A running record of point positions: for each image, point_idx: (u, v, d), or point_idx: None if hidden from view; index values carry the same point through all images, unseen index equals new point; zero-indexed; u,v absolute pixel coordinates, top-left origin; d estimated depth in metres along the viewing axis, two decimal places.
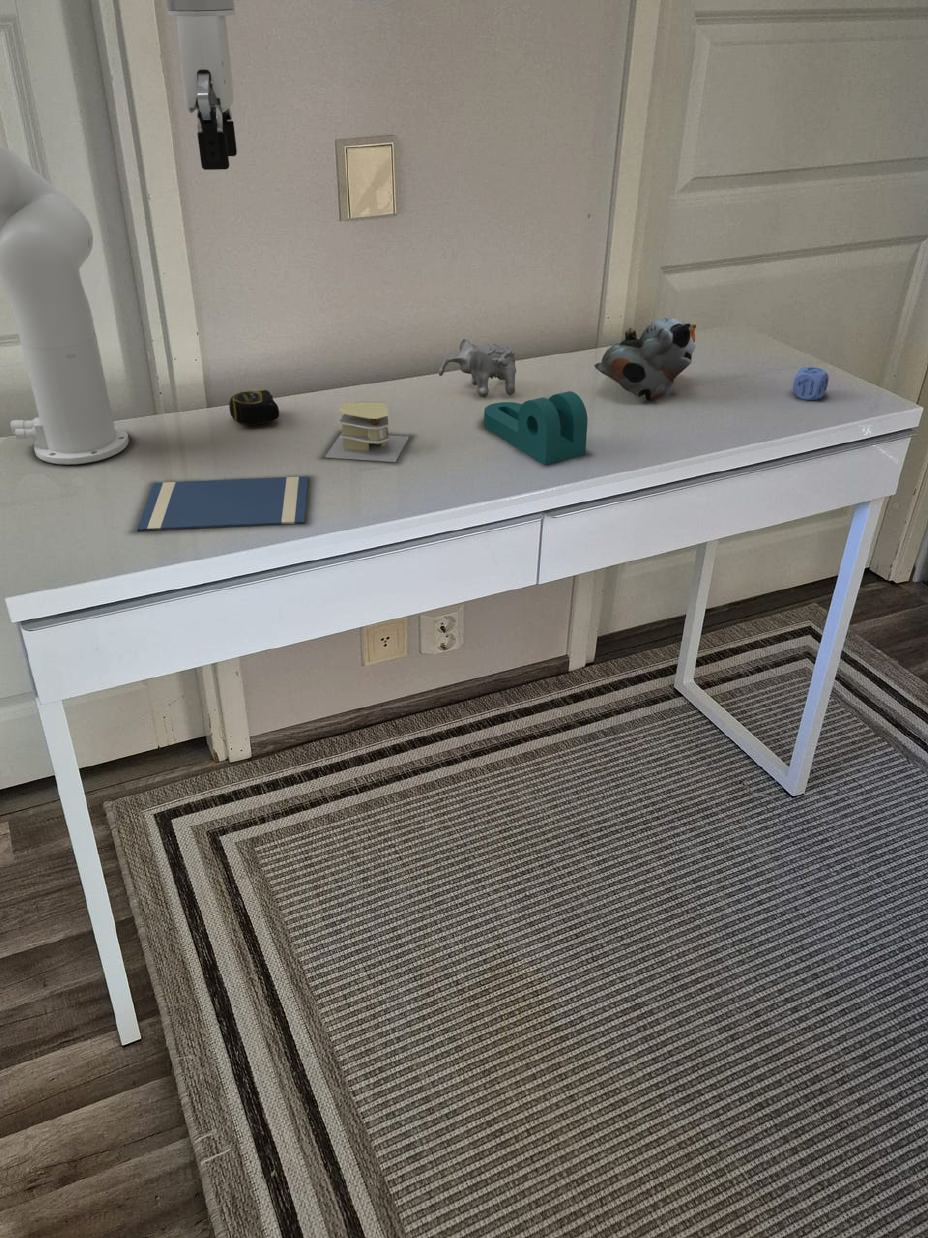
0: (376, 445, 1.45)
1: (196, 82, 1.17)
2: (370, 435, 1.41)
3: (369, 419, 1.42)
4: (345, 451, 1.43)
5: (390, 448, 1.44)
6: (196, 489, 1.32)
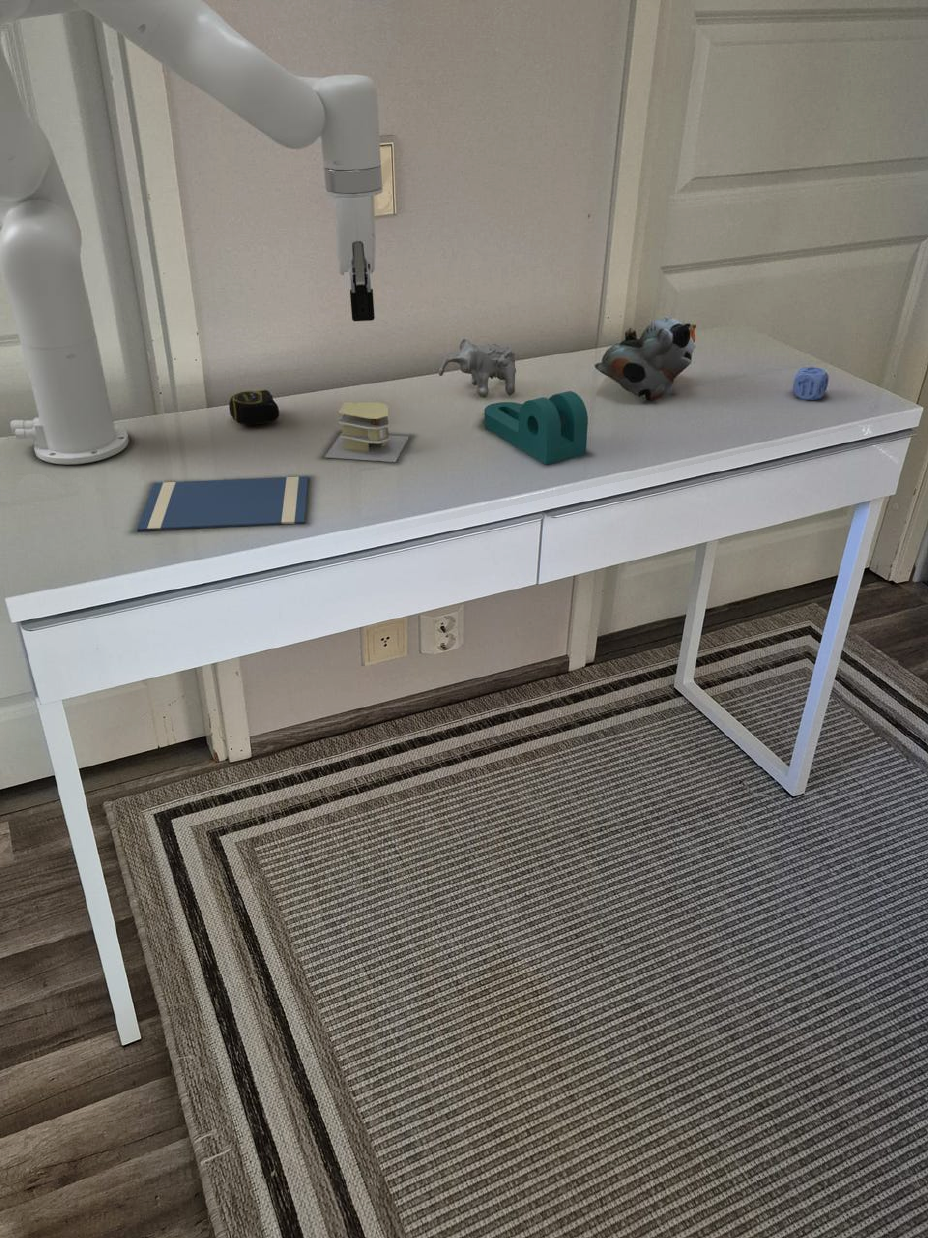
0: (376, 445, 1.45)
1: (351, 251, 1.36)
2: (370, 435, 1.41)
3: (369, 419, 1.42)
4: (345, 450, 1.43)
5: (390, 448, 1.44)
6: (196, 489, 1.32)
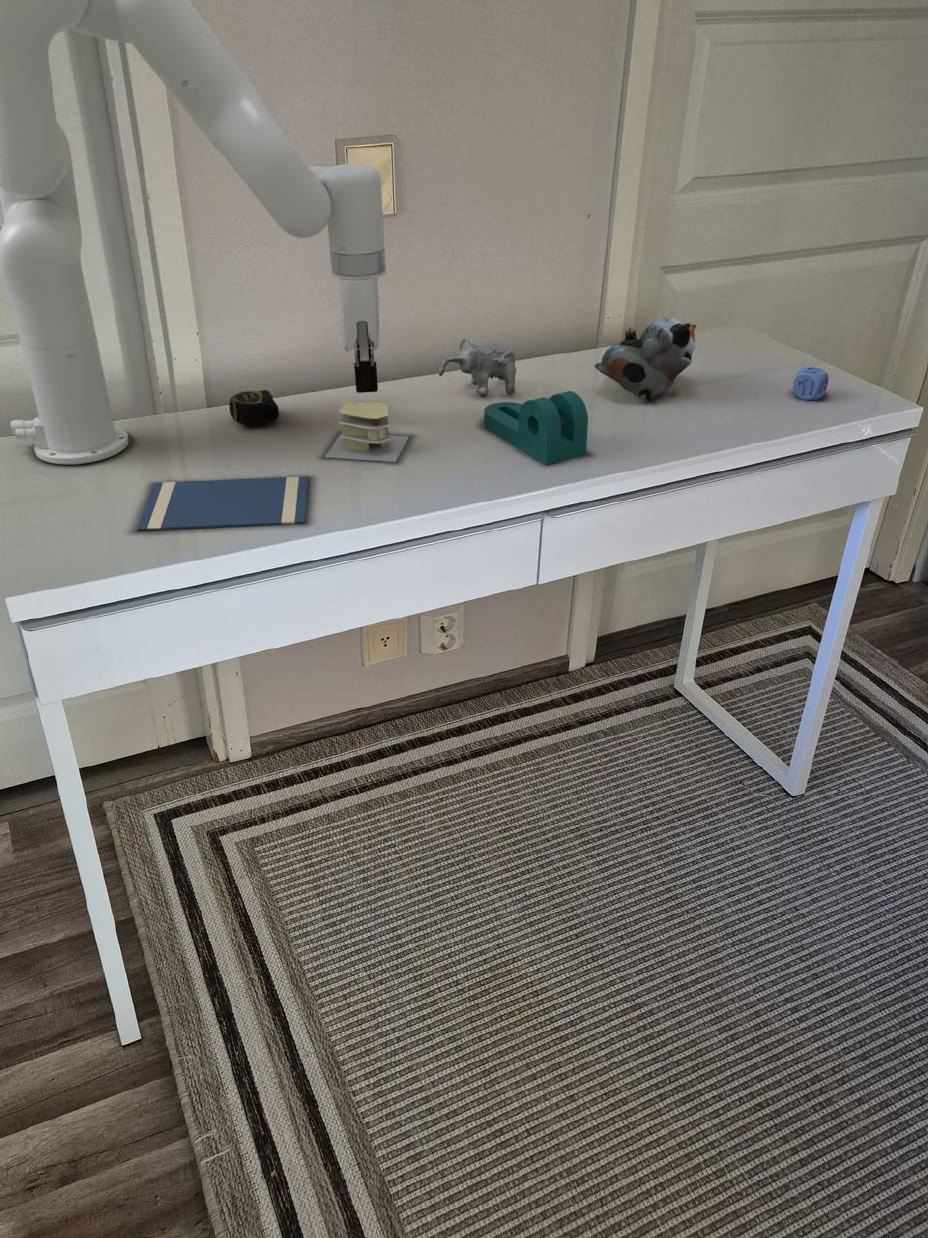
0: (376, 445, 1.45)
1: (355, 330, 1.41)
2: (370, 435, 1.41)
3: (369, 419, 1.42)
4: (345, 451, 1.43)
5: (390, 448, 1.44)
6: (196, 489, 1.32)
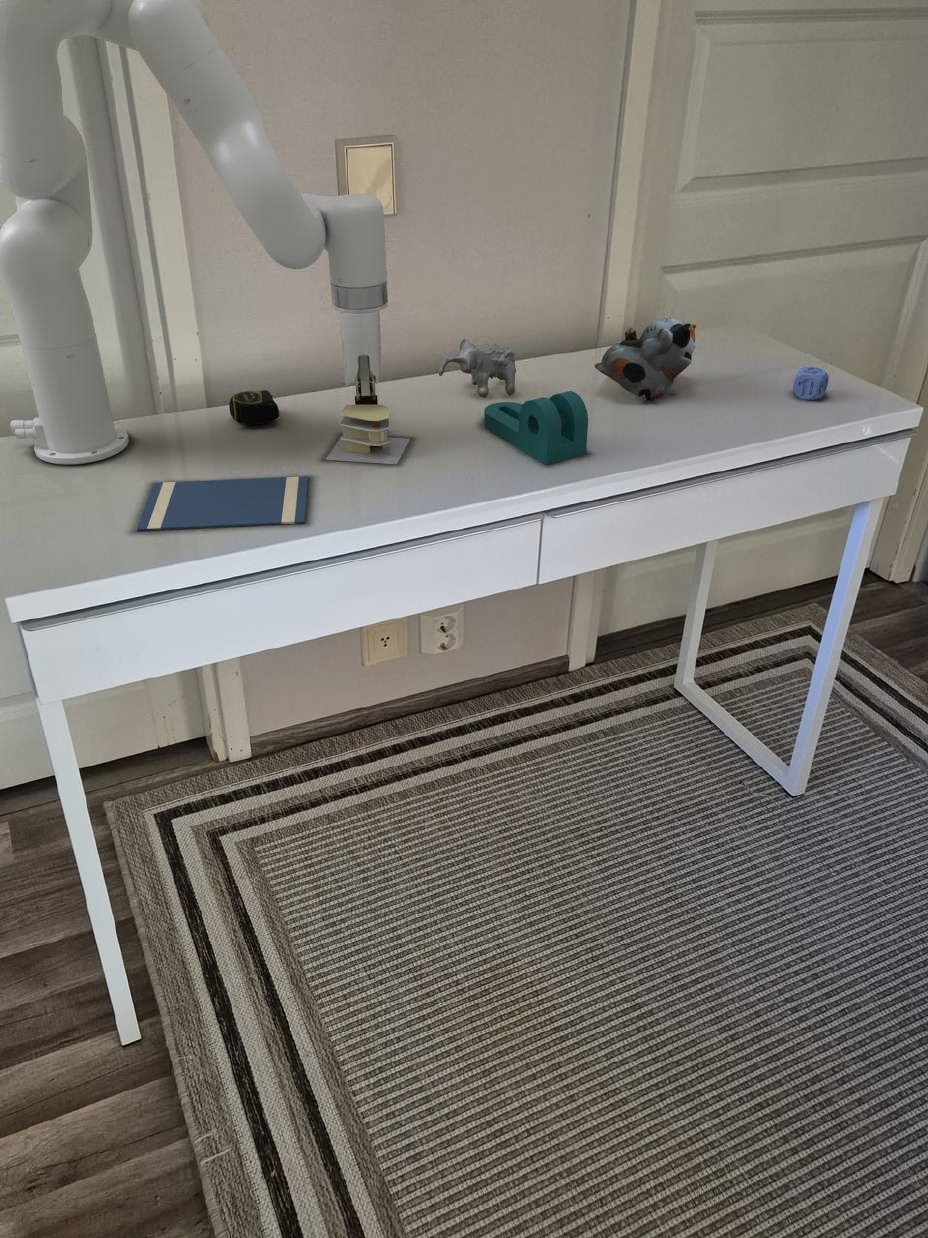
0: (377, 448, 1.44)
1: (357, 365, 1.37)
2: (371, 437, 1.40)
3: (370, 421, 1.41)
4: (346, 453, 1.43)
5: (392, 451, 1.43)
6: (196, 489, 1.32)
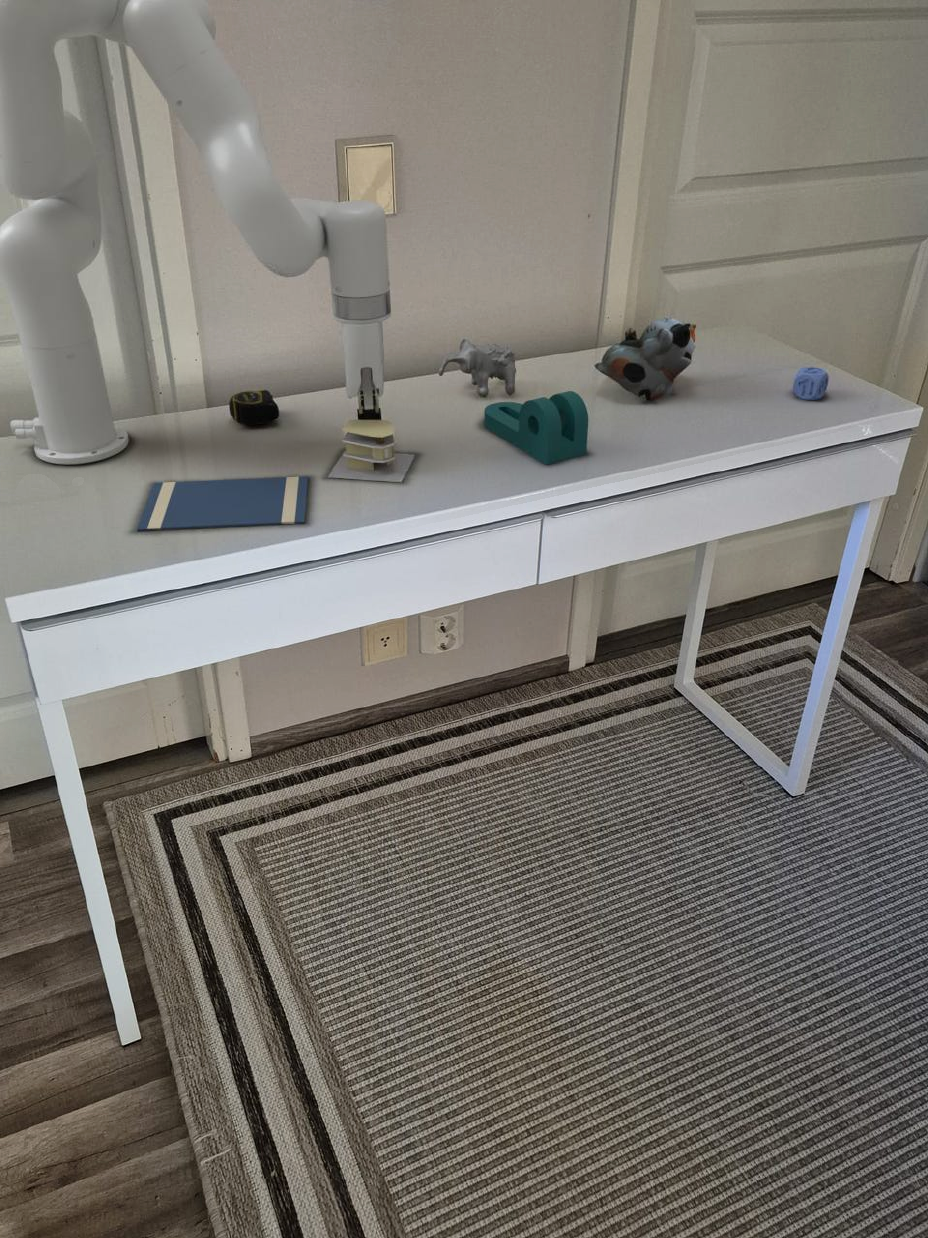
0: (380, 464, 1.39)
1: (359, 377, 1.32)
2: (375, 454, 1.35)
3: (374, 437, 1.36)
4: (349, 470, 1.38)
5: (396, 468, 1.38)
6: (196, 489, 1.32)
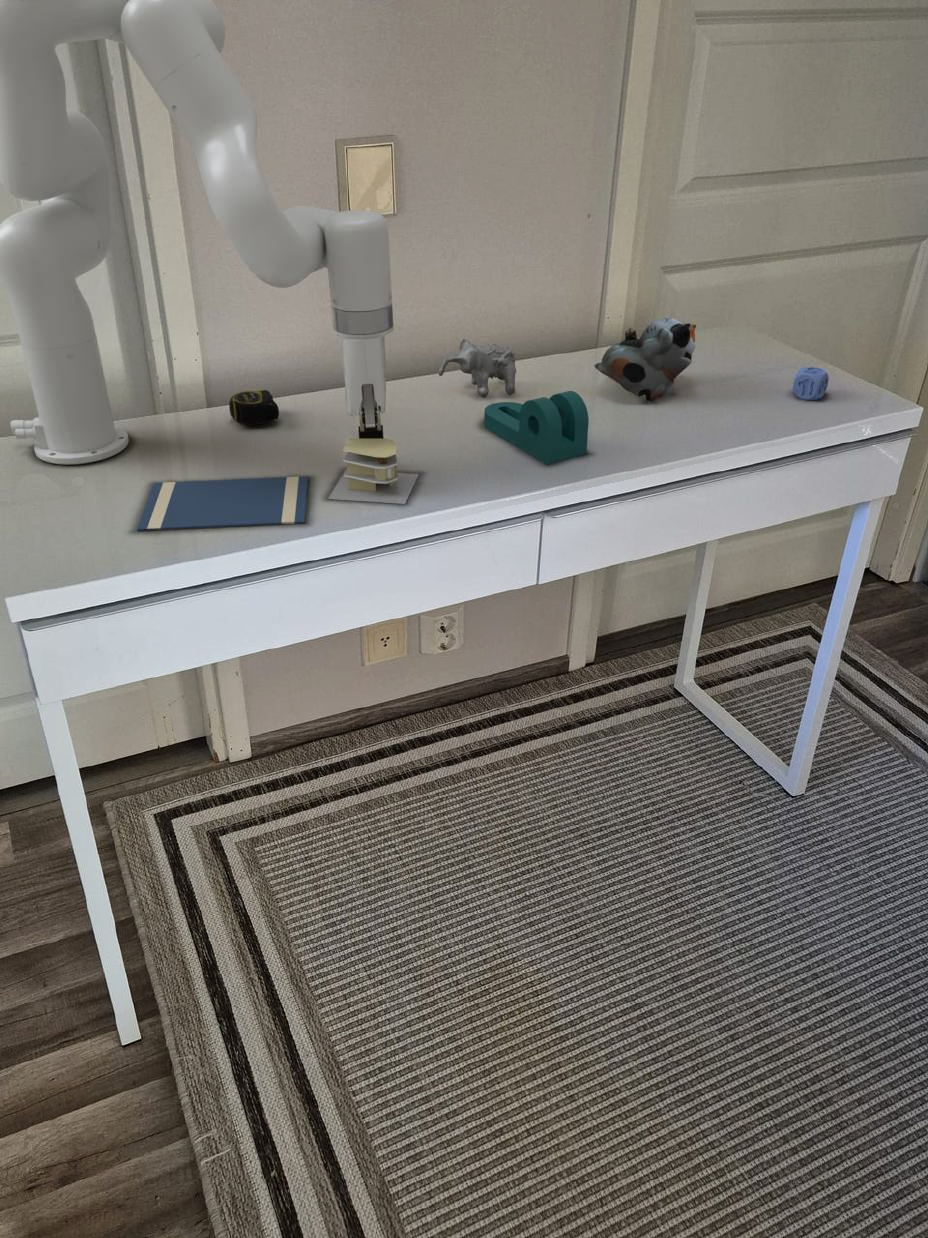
0: (383, 485, 1.34)
1: (360, 394, 1.27)
2: (377, 475, 1.30)
3: (376, 457, 1.31)
4: (350, 491, 1.32)
5: (399, 488, 1.33)
6: (196, 489, 1.32)
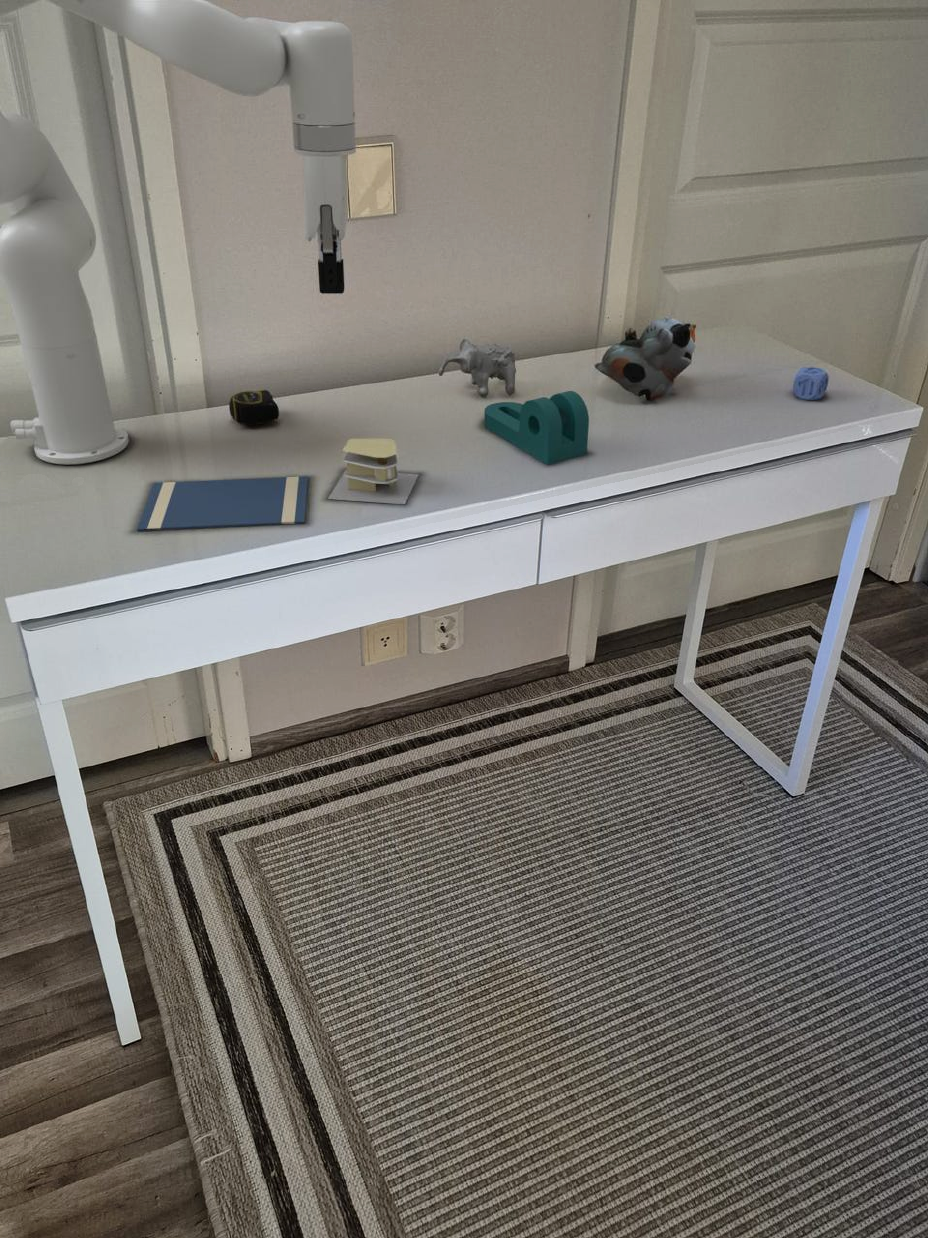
0: (383, 485, 1.34)
1: (318, 215, 1.25)
2: (377, 475, 1.30)
3: (376, 457, 1.31)
4: (350, 491, 1.32)
5: (399, 488, 1.33)
6: (196, 489, 1.32)
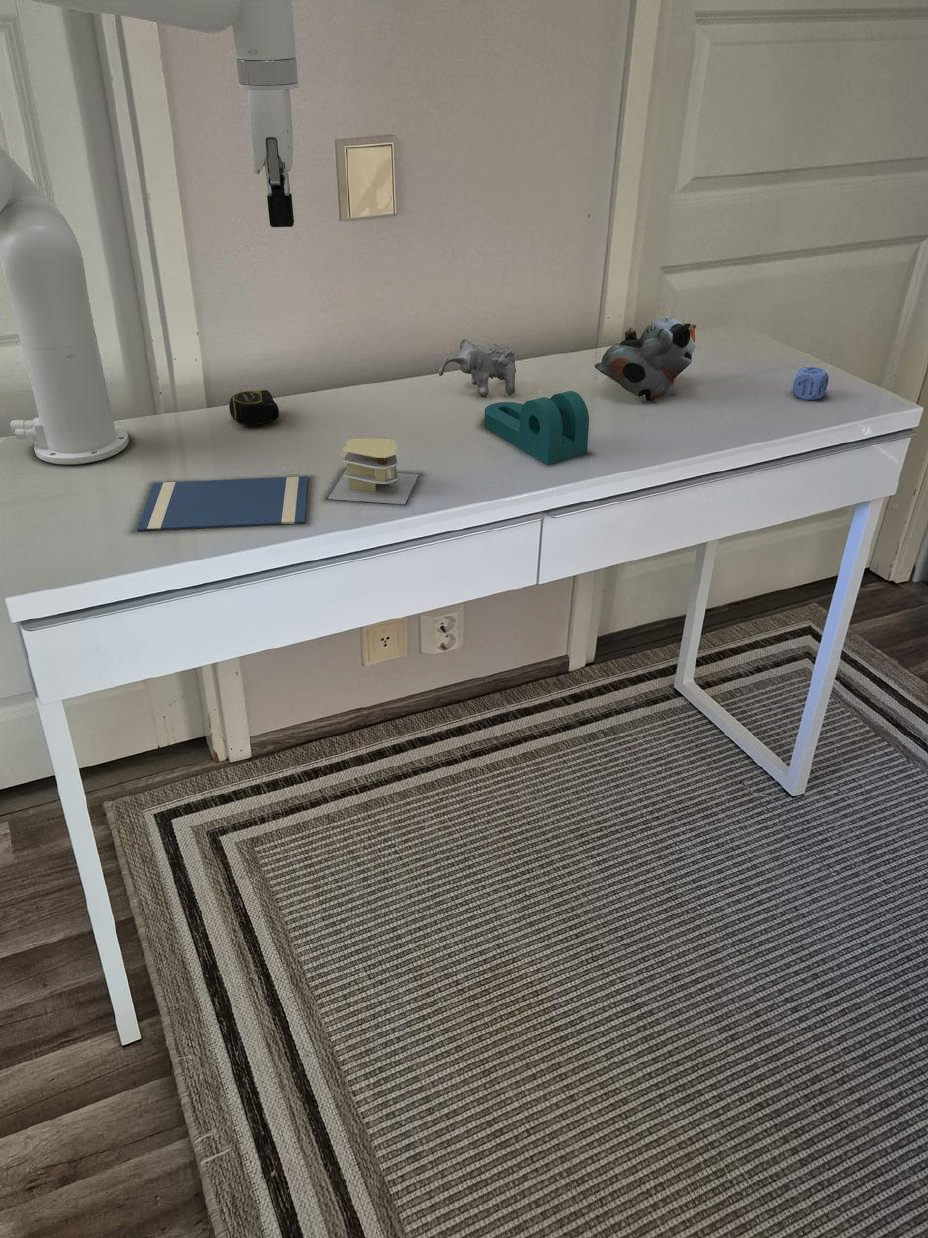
0: (383, 485, 1.34)
1: (264, 148, 1.31)
2: (377, 475, 1.30)
3: (376, 457, 1.31)
4: (350, 491, 1.32)
5: (399, 488, 1.33)
6: (196, 489, 1.32)
